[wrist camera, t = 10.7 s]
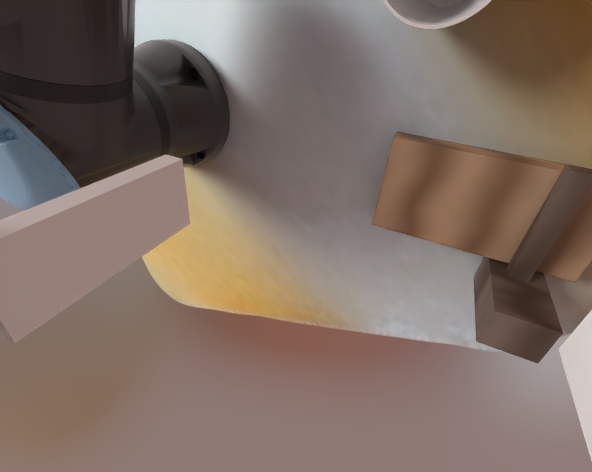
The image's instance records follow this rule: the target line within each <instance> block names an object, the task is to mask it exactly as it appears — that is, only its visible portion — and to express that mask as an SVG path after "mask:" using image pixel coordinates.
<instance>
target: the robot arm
mask: <svg viewBox="0 0 592 472" xmlns="http://www.w3.org/2000/svg"><path fill="white" fill-rule="evenodd" d="M134 30H135V0H0V197H1V198H3V199H4V200H6V201H7V202H9V203H10V204H12V205H14V206H16V207H18V208H20V209H23V210H25V211H22V212H19V213H17V214H15V215H12V216H9V217H7V218H5V219H2V220H0V334H1V335H2V336H4V337H6V338H7V339H9V340H11V341H12V342H14V343H16V342H17V341H19V340H20V339H22V338H23V337H25V336H26V335H28V334H29V333H30V332H32V331H33V330H35V329H36V328H38V327H39V326H41V325H42V324H43V323H45V322H47V321H48V320H49V319H51V318H52V317H54V316H55V315H57V314H58V313H60V312H61V311H63V310H64V309H66V308H67V307H69V306H70V305H71V304H73V303H74V302H76V301H77V300H79V299H80V298H82V297H83V296H84V295H86V294H88V293H89V292H90V291H92V290H93V289H95V288H96V287H98V286H99V285H101V284H102V283H104V282H105V281H107V280H108V279H109V278H111V277H112V276H114V275H115V274H117V273H118V272H120V271H121V270H123V269H124V268H126V267H127V266H129V265H130V264H131V263H133V262H134V261H136V260H137V259H139V258H140V257H142V256H143V255H145V254H146V253H148V252H149V251H151V250H152V249H153V248H155V247H156V246H158V245H159V244H161V243H162V242H164V241H165V240H167V239H168V238H170V237H171V236H172V235H174V234H175V233H177V232H178V231H180V230H181V229H183V228H184V227H186V226H187V225H189V224H190V219H189V210H188V202H187V193H186V185H185V177H184V168H183V167H191V166H196V165H199V164H201V163H203V162H205V161H207V160H209V159H211V158H213V157H214V156H215V155H217V154H218V152H219V151H220V150H221V149H222V147H223V145H224V143H225V141H226V138H227V134H228V129H229V109H228V103H227V99H226V95H225V92H224V89H223V86H222V84H221V82H220V80H219V78H218V76H217V74H216V72H215V71H214V69H213V68H212V66H211V65H210V64H209V63H208V61H207V60H206V59H205V58H204V57H203V56H202V55H201V54H200V53H199V52H198V51H196V50H195V49H194V48H192V47H191V46H189V45H187V44H185V43H183V42H180V41H176V40H151V41H147V42H144V43H142V44H140V45H138V46H137V47H135V48H134ZM559 353H560V356H561V360H562V363H563V366H564V370H565V373H566V376H567V380H568V383H569V387H570V390H571V393H572V397H573V400H574V403H575V406H576V410H577V413H578V417H579V420H580V423H581V427H582V430H583V433H584V437H585V440H586V443H587V446H588V450H589V453H590V457H591V460H592V310H591V311H590V312H589V313H588V315H587V316H586V317H585V318H584V319H583V321H582V322H581V323H580V324H579V325H578V327H577V328H576V329H575V330H574V331H573V332H572V334H571V335H570V336H569V337H568V338H567V340H566V341H565V342H564V343H563V344H562V346H561V347H560V348H559Z"/></svg>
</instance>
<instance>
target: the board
mask: <svg viewBox="0 0 592 472" xmlns="http://www.w3.org/2000/svg"><path fill="white" fill-rule="evenodd" d="M565 165H566V164H561V163H556V162H551V161H546V160H541V159H535V158H530V157H525V156H520V155H515V154H509V153H504V152H499V151H494V150H489V149H483V148H478V147H473V146H468V145H463V144H458V143H452V142H447V141H442V140H437V139H432V138H426V137H421V136H416V135H411V134H406V133H400V132H397V134H396V135H395V136H394V138H393V142H392V146H391V150H390V154H389V158H388V162H387V166H386V170H385V174H384V178H383V182H382V186H381V190H380V194H379V198H378V202H377V206H376V210H375V214H374V218H373V222H372V225H375V226H379V227H382V228H386V229H389V230H393V231H397V232H400V233H404V234H407V235H411V236H414V237H418V238H421V239H425V240H428V241H432V242H435V243H439V244H442V245H446V246H449V247H453V248H456V249H460V250H463V251H467V252H470V253H474V254H477V255H481V256H485V257H488V258H492V259H495V260H499V261H502V262H506V263H510V261H511V259H512V257H513V256H514V254H515V252H516V250H517V249H518V247H519V245H520V243H521V242H522V240H523V238H524V236H525V235H526V233H527V231H528V229H529V228H530V226H531V224H532V222H533V221H534V219H535V217H536V216H537V214H538V212H539V210H540V209H541V207H542V205H543V203H544V202H545V200H546V198H547V196H548V195H549V193H550V191H551V189H552V188H553V186H554V184H555V182H556V181H557V179H558V177H559V175H560V174H561V172H562V170H563V169H564V167H565ZM591 261H592V185H591V187H590V188H589V190H588V191H587V193H586V194H585V196H584V198H583V199H582V201H581V202H580V204H579V205H578V207H577V208H576V210H575V211H574V213H573V215H572V216H571V218H570V219H569V221H568V222H567V224H566V225H565V227H564V229H563V230H562V232H561V233H560V235H559V236H558V238H557V239H556V241H555V242H554V244H553V246H552V247H551V249H550V250H549V252H548V253H547V255H546V256H545V258H544V260H543V261H542V263H541V264H540V266H539V267H538V269H537V270H536V271H537V272H541V273H544V274H548V275H551V276H555V277H558V278H562V279H565V280H569V281H573V282H576V281H577V279H578V278H579V277H580V275H581V274H582V273H583V271H584V270H585V269H586V267H587V266H588V265H589V263H590V262H591Z"/></svg>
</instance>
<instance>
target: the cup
mask: <svg viewBox="0 0 592 472" xmlns="http://www.w3.org/2000/svg"><path fill="white" fill-rule="evenodd" d="M491 1H492V0H383V2H384V3H385V5H386V6H387V8H388V9H389V10H390V12H391V13H392V14H393V15H394V16H395V17H397V18H398V19H399V20H401V21H402V22H404V23H406V24H408V25H410V26H413V27H417V28H422V29H438V28H444V27H448V26H452V25H454V24H457V23H459V22H462V21H464V20H466V19H467V18H469V17H471V16H473V15H474V14H476V13H477V12H478V11H480V10H481V9H482V8H484V7H485V6H486V5H487V4H488V3H489V2H491Z"/></svg>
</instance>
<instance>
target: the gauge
mask: <svg viewBox="0 0 592 472" xmlns="http://www.w3.org/2000/svg"><path fill="white" fill-rule="evenodd" d="M591 185H592V169H588V168H582V167H577V166H572V165H567V164H566V165H565V167H564V169H563V170H562V172H561V174H560V175H559V177H558V179H557V181H556V182H555V184H554V186H553V188H552V189H551V191H550V193H549V195H548V196H547V198H546V200H545V202H544V203H543V205H542V207H541V209H540V210H539V212H538V214H537V216H536V217H535V219H534V221H533V222H532V224H531V226H530V228H529V229H528V231H527V233H526V235H525V236H524V238H523V240H522V242H521V243H520V245H519V247H518V249H517V250H516V252H515V254H514V256H513V257H512V259H511V261H510V263H506V262H502V261H499V260H495V259H492V258H488V257H484V259H483V261H482V263H481V265H480V267H479V269H478V271H477V273H476V275H475V277H474V295H475V322H476V341H477V342H480V343H482V344H485V345H488V346H491V347H494V348H496V349H499V350H502V351H505V352H507V353H510V354H513V355H516V356H519V357H522V358H524V359H527V360H530V361H533V362H535V363H539V362H540V360H541V359H542V358H543V357H544V356H545V354H546V353H547V352H548V351H549V349H550V348H551V347H552V346H553V345H554V343H555V342H556V341H557V340H558V338H559V337H560V336H561V335H562V334H563V332H562V329H561V326H560V323H559V320H558V317H557V314H556V311H555V308H554V305H553V302H552V299H551V296H550V293H549V290H548V287H547V284H546V281H545V277H544V274H543V273H541V272H537V271H536V270H537V269H538V267H539V266H540V264H541V263H542V261H543V260H544V258H545V256H546V255H547V253H548V252H549V250H550V249H551V247H552V246H553V244H554V242H555V241H556V239H557V238H558V236H559V235H560V233H561V232H562V230H563V229H564V227H565V225H566V224H567V222H568V221H569V219H570V218H571V216H572V215H573V213H574V211H575V210H576V208H577V207H578V205H579V204H580V202H581V201H582V199H583V198H584V196H585V194H586V193H587V191H588V190H589V188H590V187H591Z"/></svg>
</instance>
